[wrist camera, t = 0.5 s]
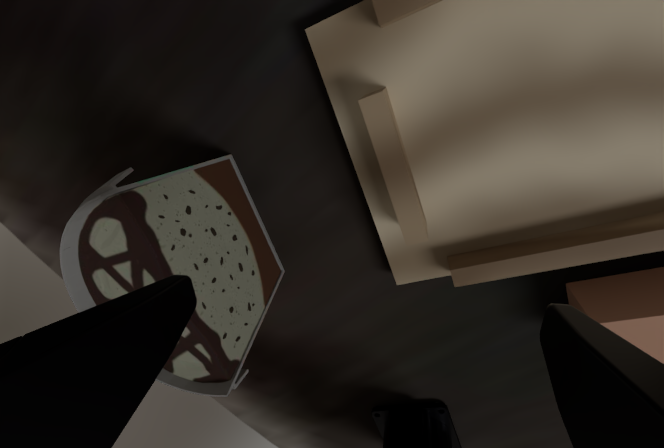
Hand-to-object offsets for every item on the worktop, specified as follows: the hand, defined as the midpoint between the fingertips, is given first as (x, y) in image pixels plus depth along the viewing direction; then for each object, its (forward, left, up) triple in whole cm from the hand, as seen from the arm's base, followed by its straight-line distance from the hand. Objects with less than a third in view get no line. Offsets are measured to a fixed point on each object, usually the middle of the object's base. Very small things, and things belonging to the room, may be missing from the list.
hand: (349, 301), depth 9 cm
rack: (0, -9, -13) cm, 16 cm away
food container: (-1, +13, -14) cm, 19 cm away
